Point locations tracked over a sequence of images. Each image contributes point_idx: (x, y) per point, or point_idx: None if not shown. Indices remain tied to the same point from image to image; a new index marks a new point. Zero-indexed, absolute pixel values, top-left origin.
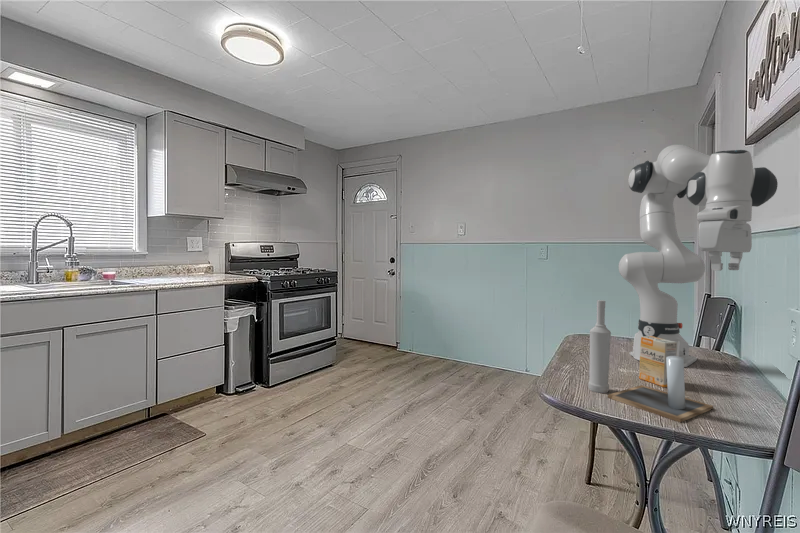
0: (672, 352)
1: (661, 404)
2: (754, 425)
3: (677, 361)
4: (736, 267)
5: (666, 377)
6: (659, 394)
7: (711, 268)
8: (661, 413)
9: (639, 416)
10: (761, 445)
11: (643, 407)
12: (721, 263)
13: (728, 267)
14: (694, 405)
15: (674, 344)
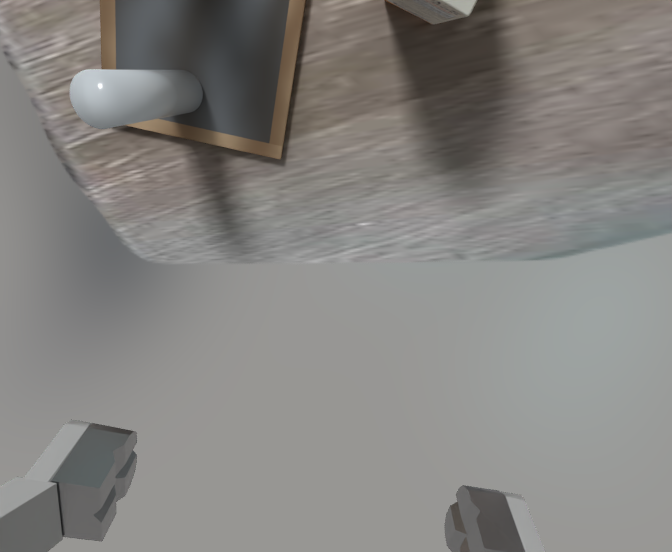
0: (432, 6)
1: (167, 53)
2: (242, 236)
3: (79, 113)
4: (448, 546)
5: (395, 2)
6: (256, 20)
7: (61, 428)
8: None
9: (47, 28)
10: (135, 254)
11: (101, 19)
12: (65, 535)
13: (469, 502)
14: (240, 123)
15: (450, 8)
